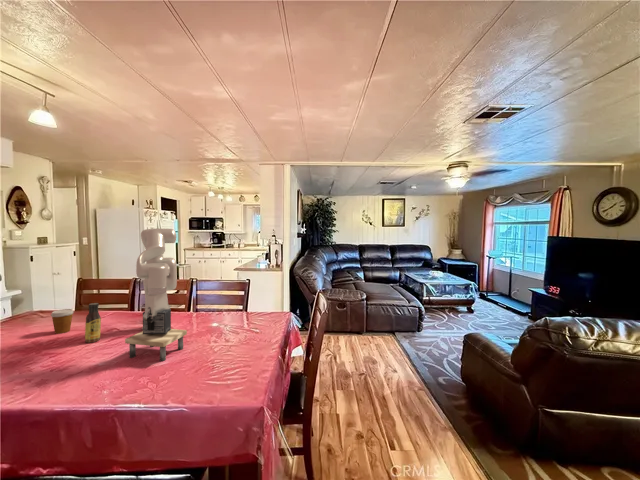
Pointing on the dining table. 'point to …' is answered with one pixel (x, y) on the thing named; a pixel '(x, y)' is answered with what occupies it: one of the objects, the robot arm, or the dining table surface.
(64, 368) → the dining table surface
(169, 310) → the small box
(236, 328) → the dining table surface
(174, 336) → the peg shelf
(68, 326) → the disposable coffee cup
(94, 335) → the sauce bottle
